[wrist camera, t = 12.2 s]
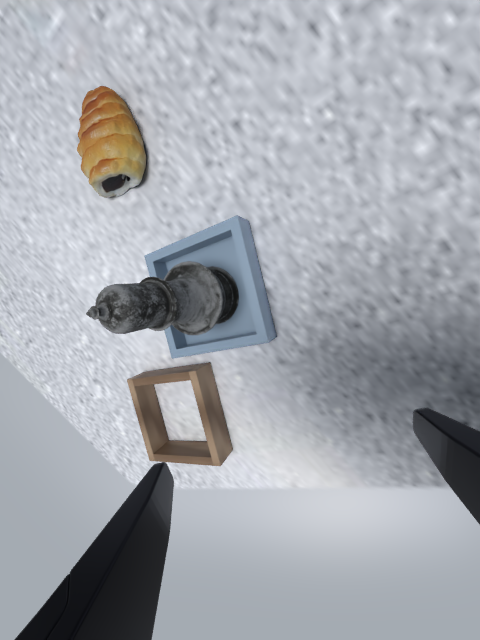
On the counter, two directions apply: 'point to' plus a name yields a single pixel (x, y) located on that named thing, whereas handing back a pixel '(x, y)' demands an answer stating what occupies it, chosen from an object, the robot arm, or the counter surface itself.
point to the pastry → (110, 144)
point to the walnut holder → (209, 410)
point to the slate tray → (242, 264)
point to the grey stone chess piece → (169, 301)
